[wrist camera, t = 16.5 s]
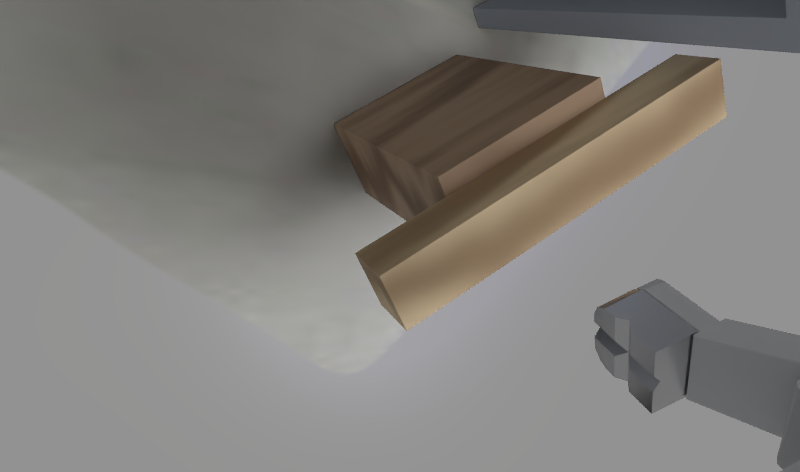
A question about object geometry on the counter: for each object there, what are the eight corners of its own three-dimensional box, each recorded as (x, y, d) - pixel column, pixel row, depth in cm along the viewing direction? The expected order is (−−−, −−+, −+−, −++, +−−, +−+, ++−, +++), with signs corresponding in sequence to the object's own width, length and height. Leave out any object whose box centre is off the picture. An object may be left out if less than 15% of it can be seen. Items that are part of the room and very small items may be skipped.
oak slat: (355, 253, 31) (379, 276, 28) (675, 54, 36) (720, 58, 33) (381, 304, 32) (406, 331, 30) (683, 108, 37) (726, 116, 35)
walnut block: (333, 124, 44) (437, 177, 31) (456, 54, 47) (600, 77, 34) (366, 192, 47) (473, 267, 34) (480, 124, 50) (620, 169, 37)
